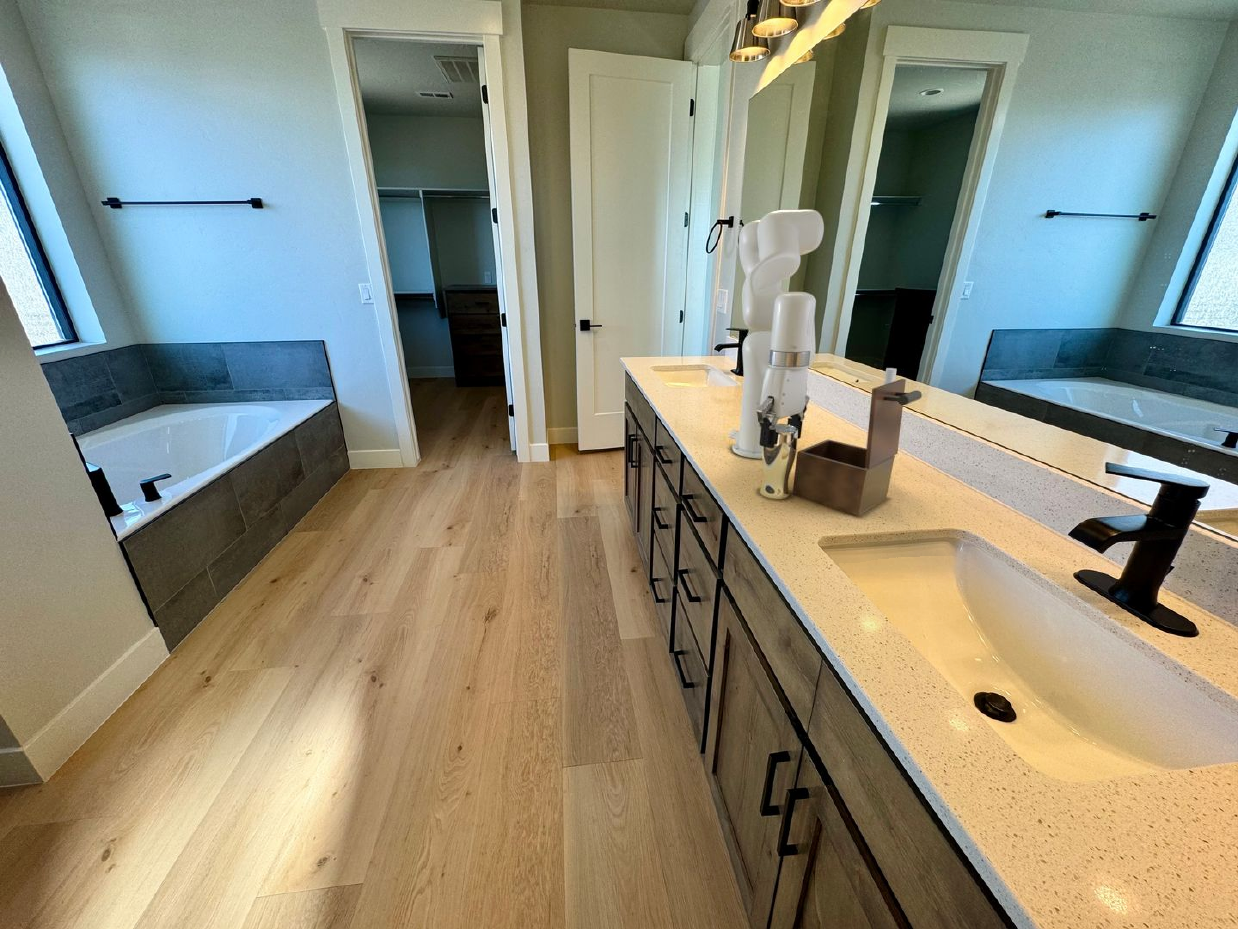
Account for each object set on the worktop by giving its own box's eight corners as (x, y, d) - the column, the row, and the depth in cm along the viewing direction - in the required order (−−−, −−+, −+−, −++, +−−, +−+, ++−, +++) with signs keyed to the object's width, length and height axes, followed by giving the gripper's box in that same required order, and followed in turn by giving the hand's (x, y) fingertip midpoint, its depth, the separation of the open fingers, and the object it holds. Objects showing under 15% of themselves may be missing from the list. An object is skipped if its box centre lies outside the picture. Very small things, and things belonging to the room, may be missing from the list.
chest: (792, 493, 107) (797, 451, 104) (822, 478, 115) (827, 439, 111) (858, 516, 97) (866, 470, 93) (886, 498, 104) (895, 455, 101)
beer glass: (768, 501, 104) (775, 434, 98) (752, 489, 110) (757, 424, 105) (797, 497, 106) (806, 431, 100) (779, 485, 112) (786, 421, 106)
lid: (872, 388, 89) (902, 390, 85) (901, 378, 96) (930, 380, 93) (864, 468, 94) (893, 473, 90) (893, 453, 101) (920, 457, 97)
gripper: (795, 353, 105) (787, 430, 111) (746, 362, 95) (740, 446, 101) (829, 357, 100) (818, 437, 106) (780, 366, 89) (771, 455, 95)
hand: (780, 441), depth 103 cm, fingers open, 9 cm apart
